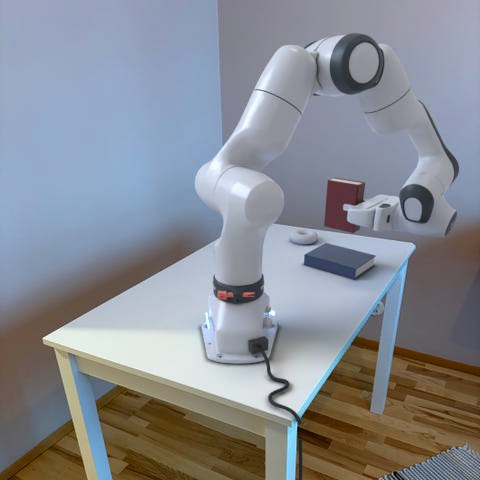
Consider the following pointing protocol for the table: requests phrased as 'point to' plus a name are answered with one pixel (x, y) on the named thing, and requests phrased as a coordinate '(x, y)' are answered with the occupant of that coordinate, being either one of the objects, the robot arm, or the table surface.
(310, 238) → the donut
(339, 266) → the slate book
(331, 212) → the burgundy book
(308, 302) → the table surface
